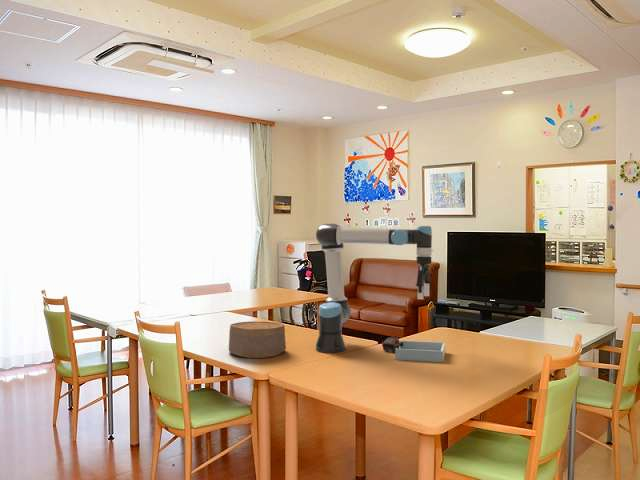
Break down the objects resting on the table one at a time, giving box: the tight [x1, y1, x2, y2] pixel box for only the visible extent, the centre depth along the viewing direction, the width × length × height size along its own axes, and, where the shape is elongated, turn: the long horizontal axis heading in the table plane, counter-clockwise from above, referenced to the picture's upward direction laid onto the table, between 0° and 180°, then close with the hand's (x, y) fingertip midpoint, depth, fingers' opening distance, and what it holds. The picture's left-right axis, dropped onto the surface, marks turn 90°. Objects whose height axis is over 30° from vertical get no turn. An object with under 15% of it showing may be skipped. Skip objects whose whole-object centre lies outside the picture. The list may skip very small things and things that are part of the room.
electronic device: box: [381, 337, 403, 353], centre depth 275 cm, size 4×10×8 cm
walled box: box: [394, 339, 446, 363], centre depth 264 cm, size 22×20×5 cm
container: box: [228, 321, 287, 359], centre depth 272 cm, size 28×28×15 cm
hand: (423, 297), depth 277 cm, fingers open, 13 cm apart
